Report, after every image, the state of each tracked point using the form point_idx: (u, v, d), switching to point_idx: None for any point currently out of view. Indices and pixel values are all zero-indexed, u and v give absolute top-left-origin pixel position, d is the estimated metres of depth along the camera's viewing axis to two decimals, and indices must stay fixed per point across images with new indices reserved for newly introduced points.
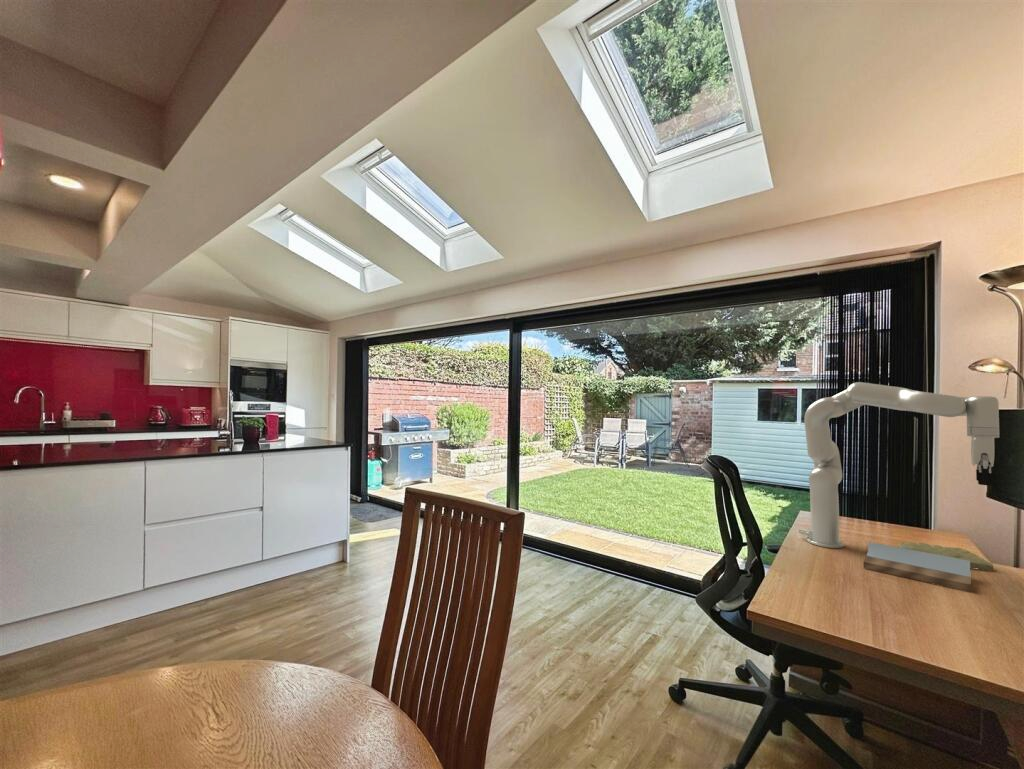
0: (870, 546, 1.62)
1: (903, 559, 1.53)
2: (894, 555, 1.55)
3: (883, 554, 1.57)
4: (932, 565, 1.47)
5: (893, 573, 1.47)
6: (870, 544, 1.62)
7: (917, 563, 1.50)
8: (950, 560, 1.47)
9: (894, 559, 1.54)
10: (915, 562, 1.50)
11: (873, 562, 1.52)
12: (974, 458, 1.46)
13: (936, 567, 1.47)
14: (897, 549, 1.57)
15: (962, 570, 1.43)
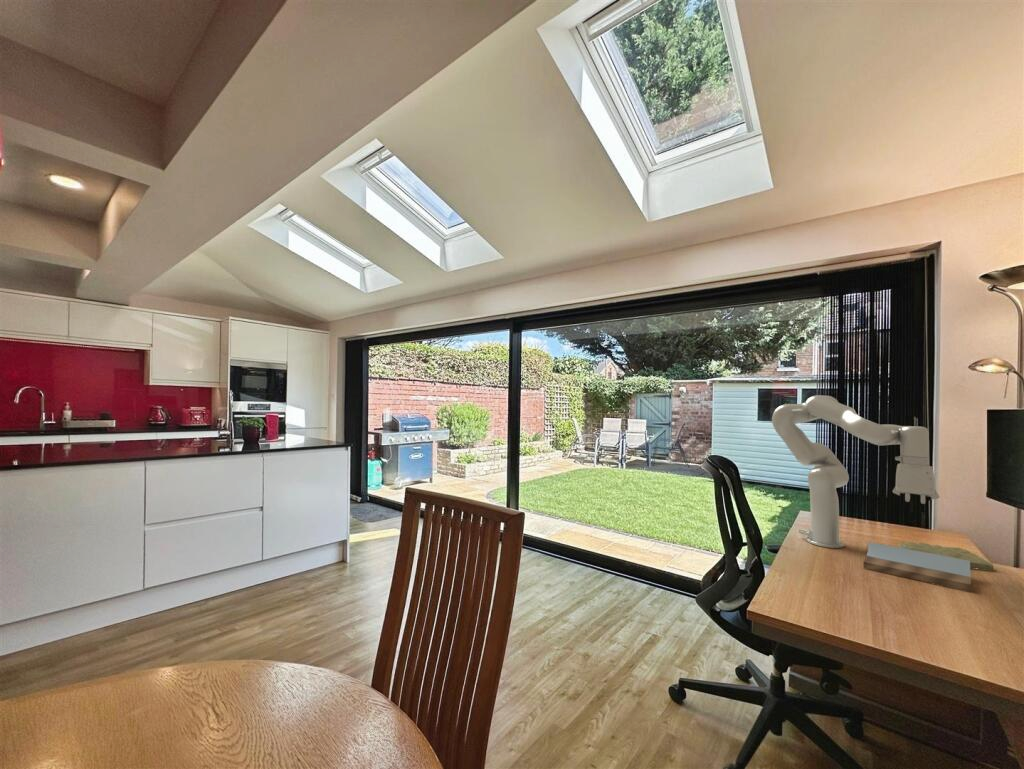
0: (870, 546, 1.62)
1: (903, 559, 1.53)
2: (894, 555, 1.55)
3: (883, 554, 1.57)
4: (932, 565, 1.47)
5: (893, 573, 1.47)
6: (870, 544, 1.62)
7: (917, 563, 1.50)
8: (950, 560, 1.47)
9: (894, 559, 1.54)
10: (915, 562, 1.50)
11: (873, 562, 1.52)
12: (934, 488, 1.49)
13: (936, 567, 1.47)
14: (897, 549, 1.57)
15: (962, 570, 1.43)
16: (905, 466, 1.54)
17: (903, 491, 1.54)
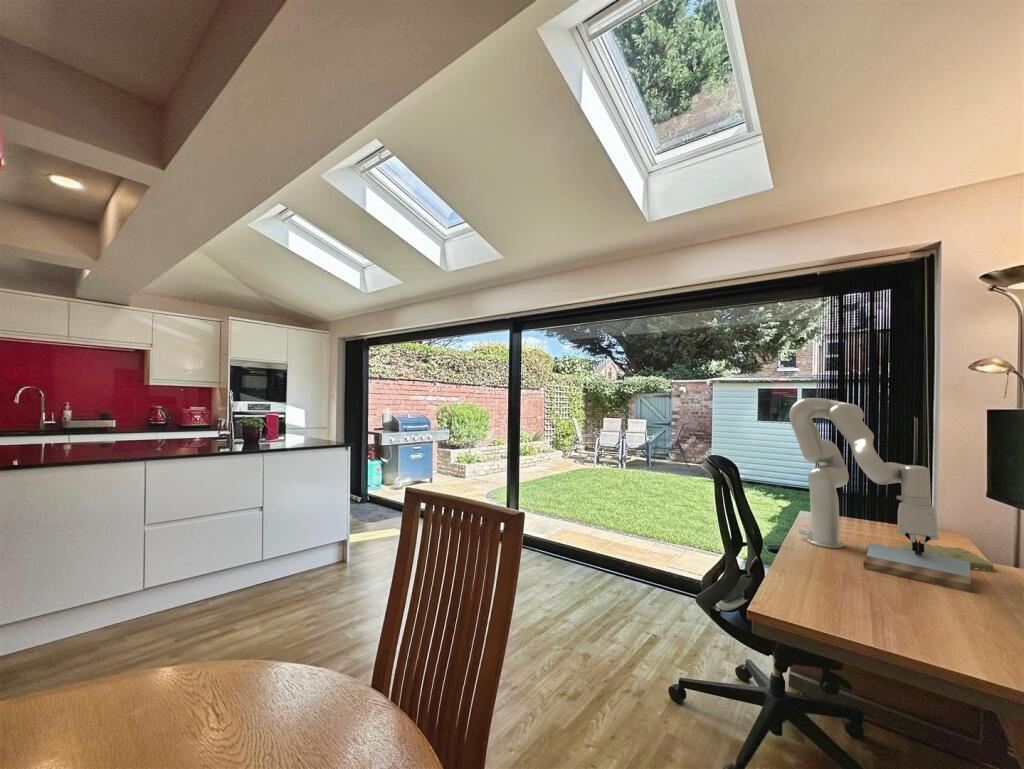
0: (870, 547, 1.62)
1: (904, 559, 1.53)
2: (894, 556, 1.55)
3: (883, 554, 1.57)
4: (932, 566, 1.48)
5: (893, 573, 1.47)
6: (870, 545, 1.63)
7: (917, 563, 1.50)
8: (950, 561, 1.47)
9: (894, 559, 1.54)
10: (915, 562, 1.50)
11: (873, 562, 1.52)
12: (936, 529, 1.49)
13: (936, 567, 1.47)
14: (897, 550, 1.57)
15: (962, 570, 1.43)
16: (907, 506, 1.54)
17: (905, 531, 1.54)
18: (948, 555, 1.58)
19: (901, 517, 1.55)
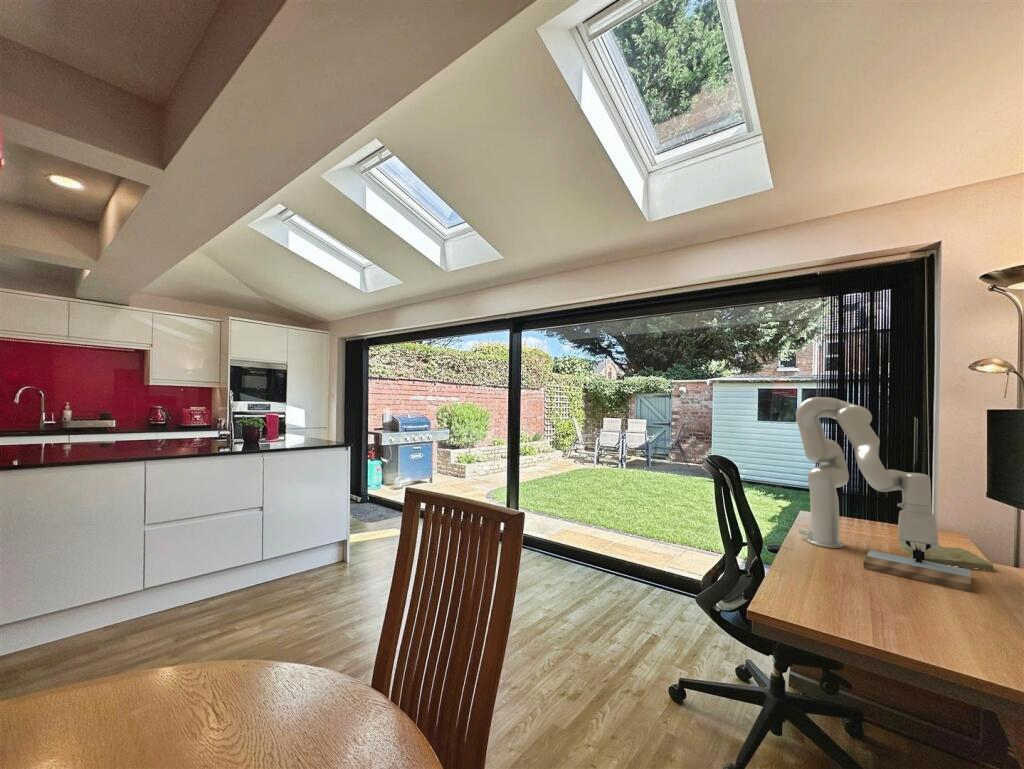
0: (870, 552, 1.62)
1: (904, 561, 1.53)
2: (894, 558, 1.55)
3: (883, 556, 1.57)
4: (932, 567, 1.48)
5: (893, 573, 1.47)
6: (870, 551, 1.63)
7: (917, 565, 1.50)
8: (950, 567, 1.48)
9: (894, 560, 1.54)
10: (915, 564, 1.50)
11: (873, 562, 1.52)
12: (937, 537, 1.48)
13: (936, 568, 1.47)
14: (897, 556, 1.58)
15: (962, 573, 1.43)
16: (907, 514, 1.54)
17: (906, 539, 1.54)
18: (948, 555, 1.58)
19: (902, 525, 1.54)
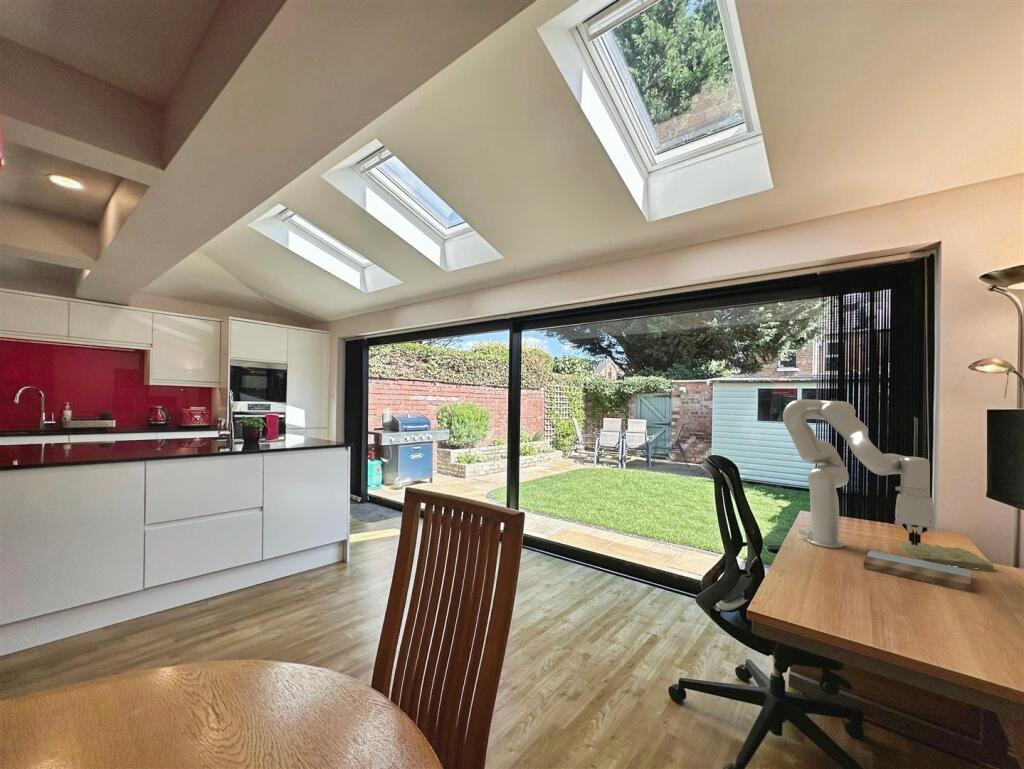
0: (870, 552, 1.62)
1: (904, 561, 1.53)
2: (894, 558, 1.55)
3: (883, 556, 1.57)
4: (932, 567, 1.48)
5: (893, 573, 1.47)
6: (870, 551, 1.63)
7: (917, 565, 1.50)
8: (950, 567, 1.48)
9: (894, 560, 1.54)
10: (915, 564, 1.50)
11: (873, 562, 1.52)
12: (933, 520, 1.49)
13: (936, 568, 1.47)
14: (897, 556, 1.58)
15: (962, 573, 1.43)
16: (905, 497, 1.54)
17: (903, 522, 1.54)
18: (948, 555, 1.58)
19: (899, 508, 1.55)
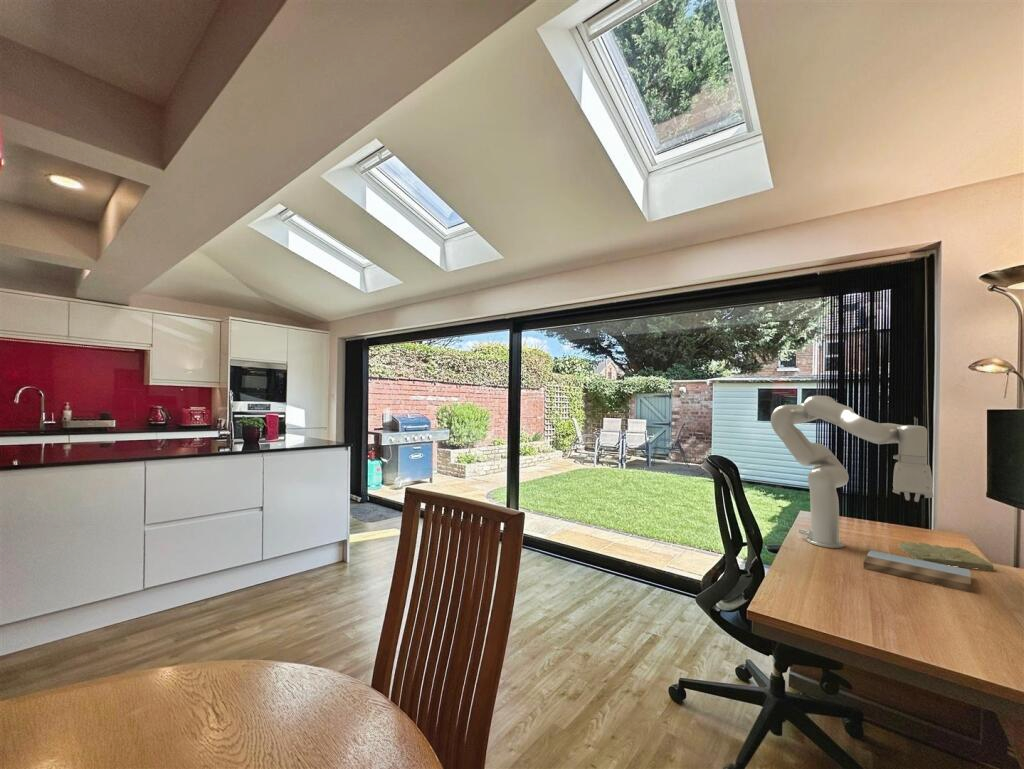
0: (870, 552, 1.62)
1: (904, 561, 1.53)
2: (894, 558, 1.55)
3: (883, 556, 1.57)
4: (932, 567, 1.48)
5: (893, 573, 1.47)
6: (870, 551, 1.63)
7: (917, 565, 1.50)
8: (950, 567, 1.48)
9: (894, 560, 1.54)
10: (915, 564, 1.50)
11: (873, 562, 1.52)
12: (931, 487, 1.50)
13: (936, 568, 1.47)
14: (897, 556, 1.58)
15: (962, 573, 1.43)
16: (903, 465, 1.55)
17: (900, 489, 1.55)
18: (948, 555, 1.58)
19: (897, 476, 1.56)
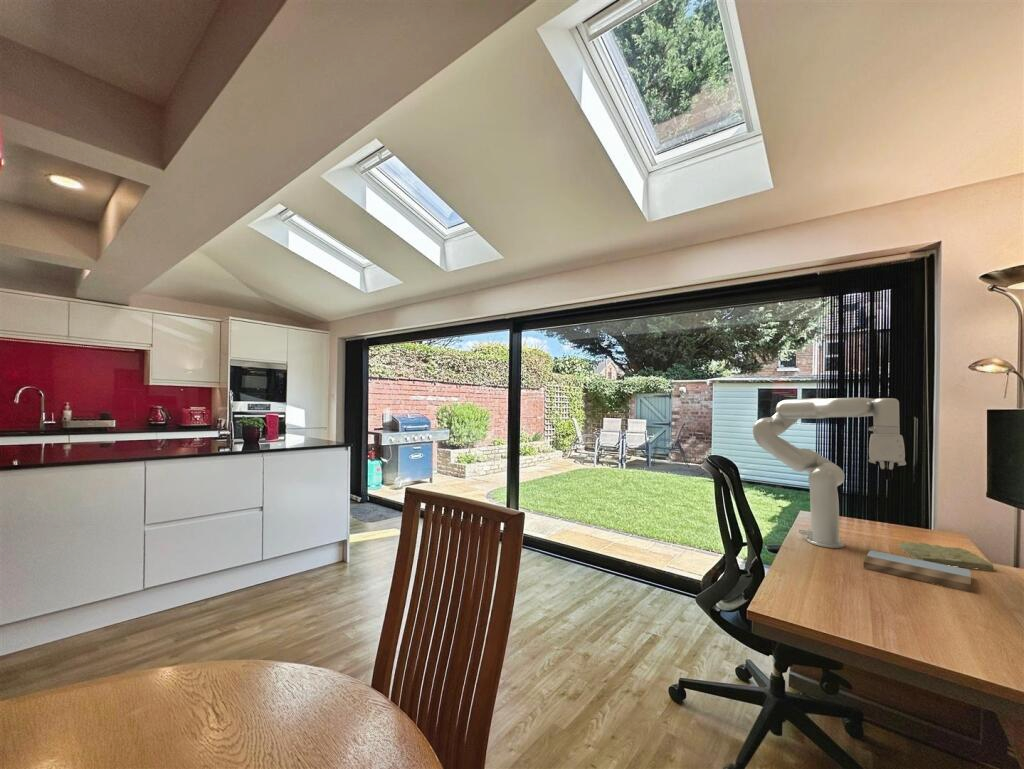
0: (870, 552, 1.62)
1: (904, 561, 1.53)
2: (894, 558, 1.55)
3: (883, 556, 1.57)
4: (932, 567, 1.48)
5: (893, 573, 1.47)
6: (870, 551, 1.63)
7: (917, 565, 1.50)
8: (950, 567, 1.48)
9: (894, 560, 1.54)
10: (915, 564, 1.50)
11: (873, 562, 1.52)
12: (903, 455, 1.59)
13: (936, 568, 1.47)
14: (897, 556, 1.58)
15: (962, 573, 1.43)
16: (877, 435, 1.65)
17: (875, 459, 1.65)
18: (948, 555, 1.58)
19: (872, 446, 1.66)
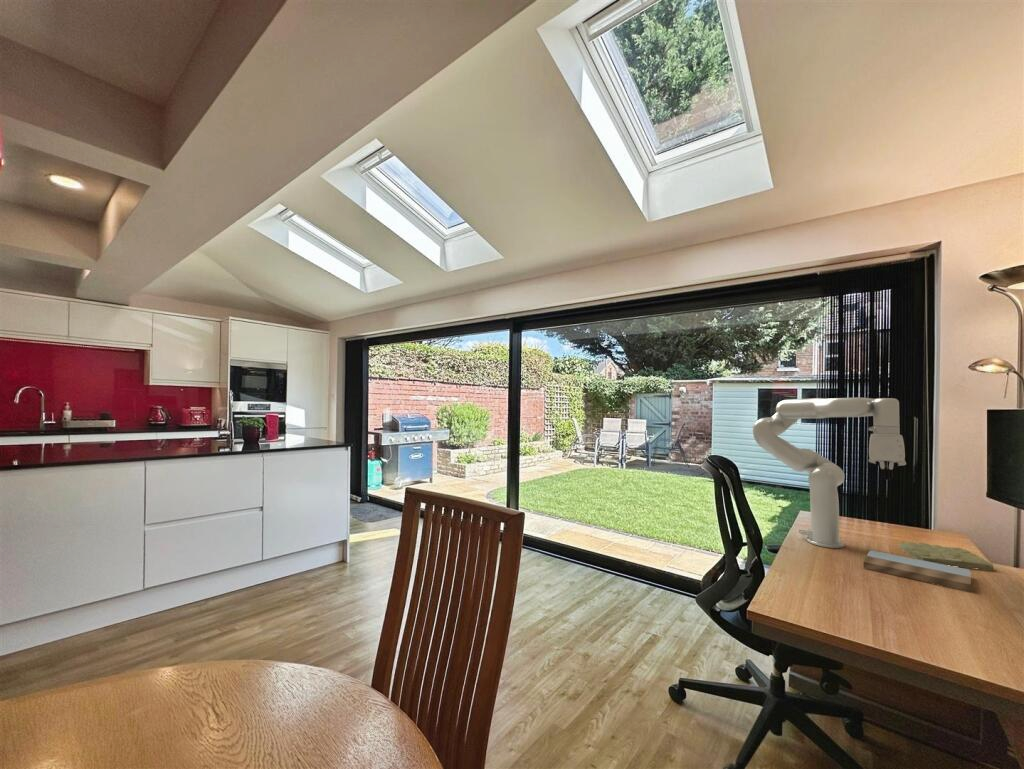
0: (870, 552, 1.62)
1: (904, 561, 1.53)
2: (894, 558, 1.55)
3: (883, 556, 1.57)
4: (932, 567, 1.48)
5: (893, 573, 1.47)
6: (870, 551, 1.63)
7: (917, 565, 1.50)
8: (950, 567, 1.48)
9: (894, 560, 1.54)
10: (915, 564, 1.50)
11: (873, 562, 1.52)
12: (903, 455, 1.59)
13: (936, 568, 1.47)
14: (897, 556, 1.58)
15: (962, 573, 1.43)
16: (877, 435, 1.65)
17: (875, 459, 1.65)
18: (948, 555, 1.58)
19: (872, 446, 1.66)
